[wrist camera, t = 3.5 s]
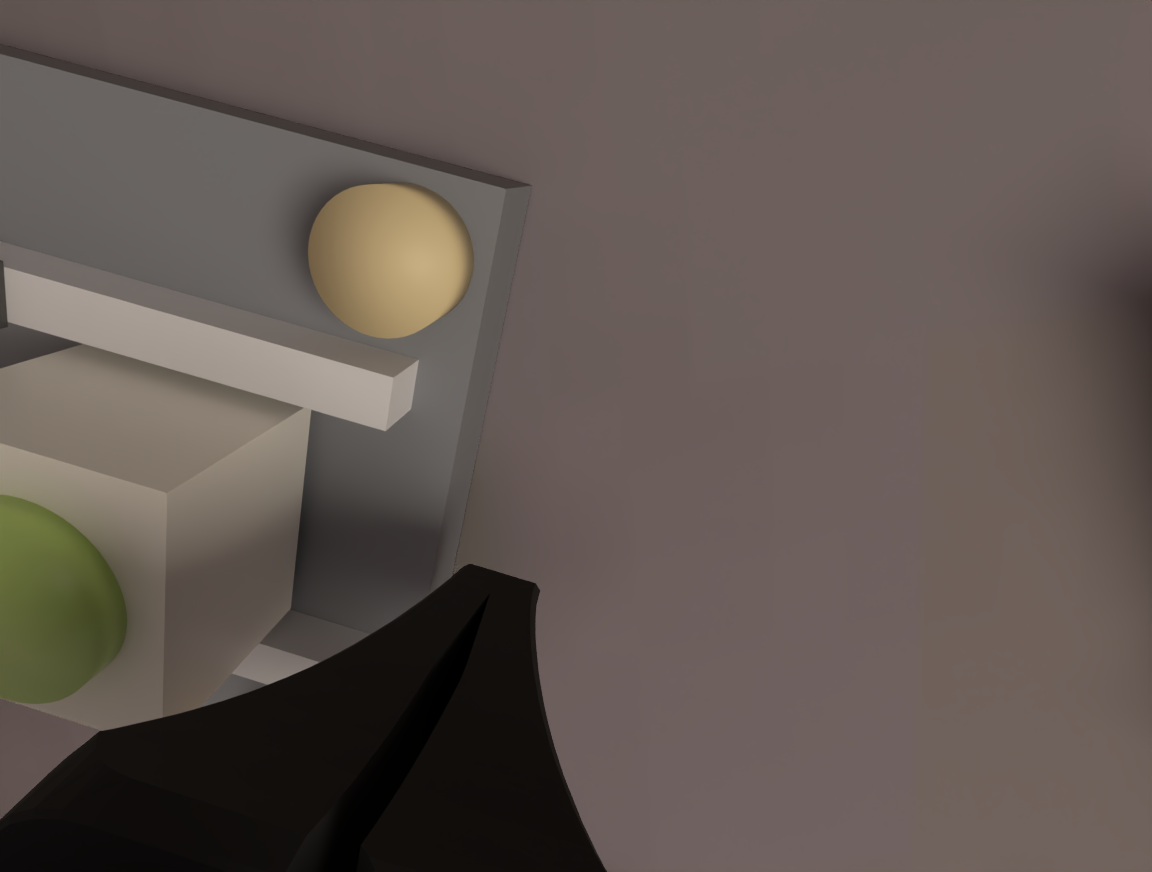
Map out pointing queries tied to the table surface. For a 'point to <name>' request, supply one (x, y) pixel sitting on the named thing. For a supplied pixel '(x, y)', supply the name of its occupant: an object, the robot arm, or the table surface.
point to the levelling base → (272, 309)
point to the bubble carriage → (139, 533)
